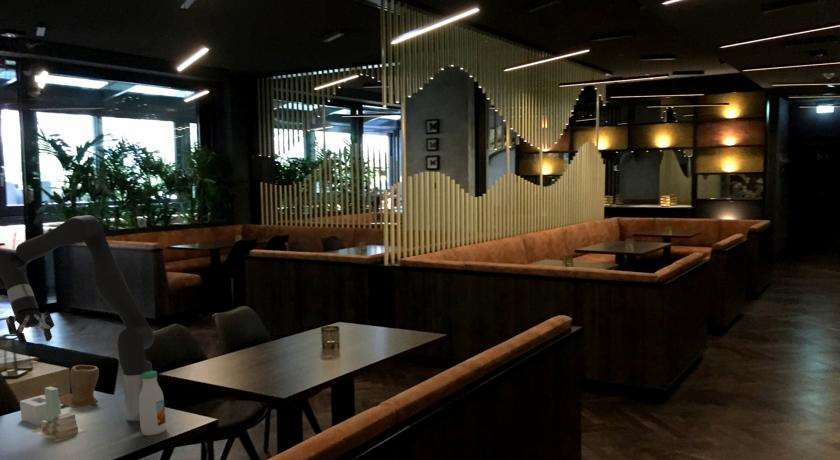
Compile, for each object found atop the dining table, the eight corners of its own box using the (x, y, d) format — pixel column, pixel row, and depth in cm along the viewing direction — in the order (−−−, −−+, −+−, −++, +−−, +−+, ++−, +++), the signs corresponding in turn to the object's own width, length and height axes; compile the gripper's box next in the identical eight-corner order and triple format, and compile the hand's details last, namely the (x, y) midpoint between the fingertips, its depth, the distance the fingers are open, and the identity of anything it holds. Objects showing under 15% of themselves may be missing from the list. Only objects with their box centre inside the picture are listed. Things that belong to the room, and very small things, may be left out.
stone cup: (107, 403, 253) (104, 364, 252) (76, 412, 243) (72, 372, 242) (86, 397, 261) (83, 359, 260) (55, 406, 252) (52, 367, 251)
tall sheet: (48, 429, 222) (44, 388, 221) (54, 427, 224) (50, 386, 223) (55, 431, 219) (51, 390, 219) (61, 429, 221) (58, 388, 220)
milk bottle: (150, 437, 214) (146, 376, 213) (136, 433, 219) (131, 374, 217) (171, 429, 221) (166, 370, 220) (156, 426, 225) (152, 368, 224)
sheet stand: (21, 423, 234) (19, 400, 233) (45, 416, 240) (43, 394, 240) (37, 429, 227) (35, 406, 226) (61, 422, 233) (59, 399, 233)
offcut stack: (51, 434, 217) (50, 416, 217) (69, 428, 222) (67, 411, 221) (60, 437, 214) (59, 419, 213) (78, 432, 218) (76, 414, 218)
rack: (30, 435, 222) (29, 422, 221) (60, 425, 230) (59, 412, 229) (56, 445, 211) (55, 431, 211) (87, 435, 219) (86, 422, 219)
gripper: (6, 297, 223) (21, 340, 219) (48, 293, 235) (62, 334, 231) (-5, 307, 226) (10, 350, 222) (37, 303, 238) (51, 343, 234)
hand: (36, 342), depth 227 cm, fingers open, 8 cm apart
